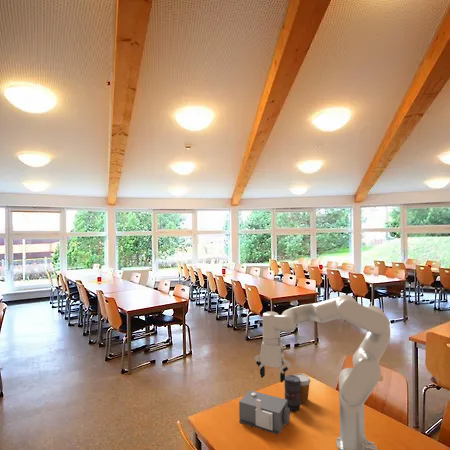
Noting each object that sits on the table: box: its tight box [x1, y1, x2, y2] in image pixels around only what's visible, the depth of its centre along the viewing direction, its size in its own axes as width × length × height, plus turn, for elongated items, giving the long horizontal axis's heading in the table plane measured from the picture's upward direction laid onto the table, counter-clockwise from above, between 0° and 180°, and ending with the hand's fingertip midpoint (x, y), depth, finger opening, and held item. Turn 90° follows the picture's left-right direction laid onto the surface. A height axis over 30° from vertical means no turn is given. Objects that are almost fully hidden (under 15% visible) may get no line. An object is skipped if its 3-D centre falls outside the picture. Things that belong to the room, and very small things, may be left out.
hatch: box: [255, 399, 273, 430], centre depth 139 cm, size 8×1×12 cm, turn 61°
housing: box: [238, 389, 291, 436], centre depth 145 cm, size 22×13×10 cm, turn 61°
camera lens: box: [283, 374, 301, 412], centre depth 156 cm, size 8×8×15 cm
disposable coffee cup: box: [293, 373, 311, 404], centre depth 162 cm, size 10×10×12 cm
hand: (272, 378), depth 137 cm, fingers open, 8 cm apart
